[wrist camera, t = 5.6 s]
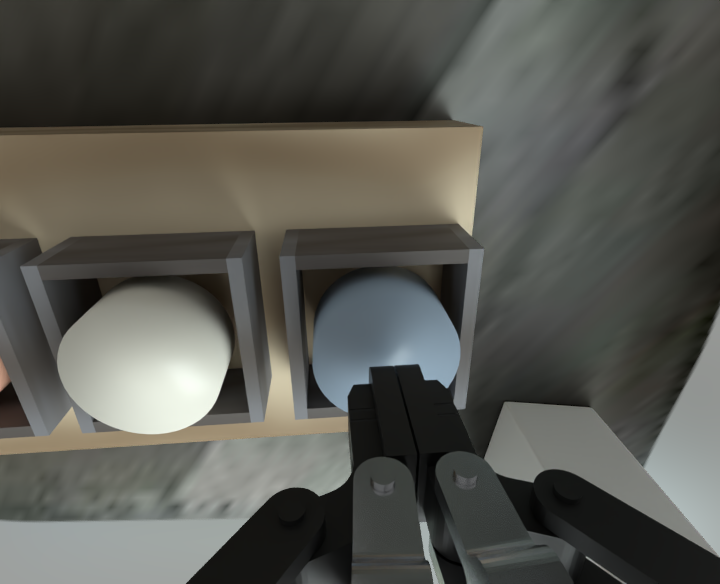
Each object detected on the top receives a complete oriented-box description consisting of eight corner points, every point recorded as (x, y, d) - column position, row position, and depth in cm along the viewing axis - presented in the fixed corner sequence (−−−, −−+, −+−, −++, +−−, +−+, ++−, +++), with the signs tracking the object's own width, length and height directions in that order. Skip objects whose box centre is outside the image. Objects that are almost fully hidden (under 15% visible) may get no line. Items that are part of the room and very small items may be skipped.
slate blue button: (309, 267, 15) (307, 297, 13) (446, 262, 16) (467, 290, 13) (317, 380, 18) (316, 424, 15) (437, 373, 18) (454, 414, 16)
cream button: (78, 276, 15) (34, 310, 13) (225, 270, 15) (207, 302, 13) (114, 392, 17) (83, 439, 15) (242, 385, 17) (230, 429, 15)
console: (-124, 129, 18) (-375, 151, 11) (452, 120, 19) (517, 134, 13) (2, 401, 23) (-116, 516, 17) (433, 376, 25) (471, 472, 19)
